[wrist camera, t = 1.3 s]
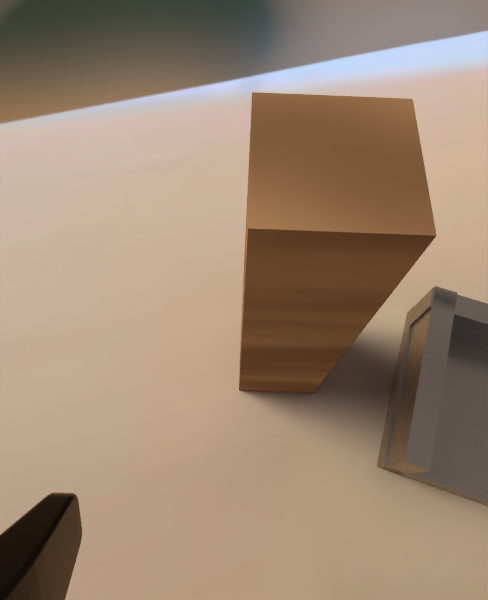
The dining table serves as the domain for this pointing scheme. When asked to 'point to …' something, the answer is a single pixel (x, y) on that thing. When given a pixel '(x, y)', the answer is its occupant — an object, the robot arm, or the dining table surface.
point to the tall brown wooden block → (325, 229)
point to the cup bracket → (441, 397)
